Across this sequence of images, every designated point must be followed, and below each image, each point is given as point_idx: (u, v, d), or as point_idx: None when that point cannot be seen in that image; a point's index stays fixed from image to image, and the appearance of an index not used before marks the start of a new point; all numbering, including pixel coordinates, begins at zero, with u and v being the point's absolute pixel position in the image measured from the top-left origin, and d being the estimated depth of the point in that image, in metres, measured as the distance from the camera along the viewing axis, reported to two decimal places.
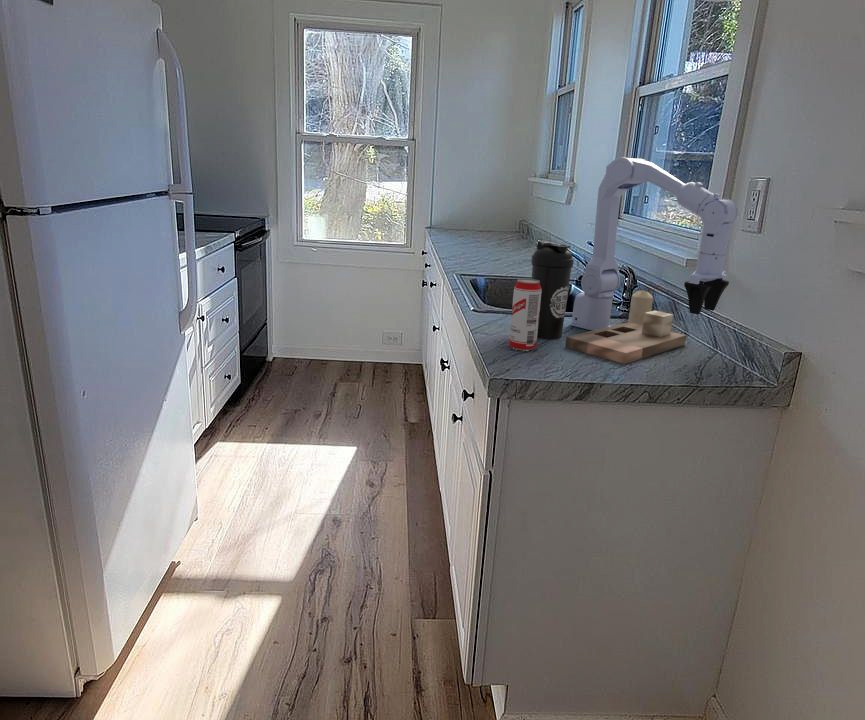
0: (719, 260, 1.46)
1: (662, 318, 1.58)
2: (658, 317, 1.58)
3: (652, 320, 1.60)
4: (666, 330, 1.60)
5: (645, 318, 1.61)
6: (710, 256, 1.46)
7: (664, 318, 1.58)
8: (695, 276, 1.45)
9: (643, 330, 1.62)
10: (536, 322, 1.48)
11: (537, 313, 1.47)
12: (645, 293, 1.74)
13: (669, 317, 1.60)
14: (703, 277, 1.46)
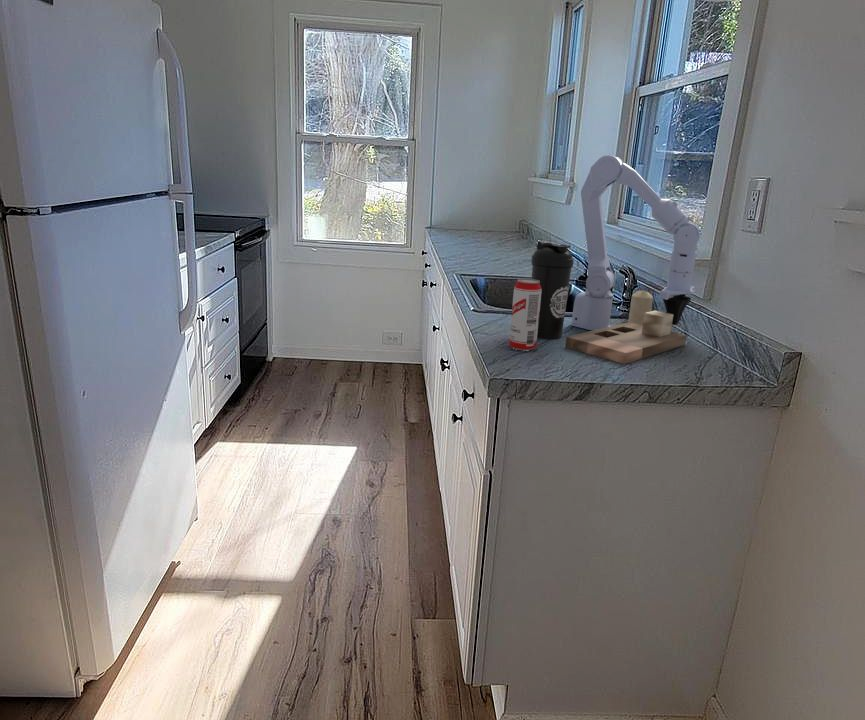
0: (686, 277, 1.61)
1: (662, 318, 1.58)
2: (658, 317, 1.58)
3: (652, 320, 1.60)
4: (666, 330, 1.60)
5: (645, 318, 1.61)
6: (679, 274, 1.61)
7: (664, 318, 1.58)
8: (665, 292, 1.59)
9: (643, 330, 1.62)
10: (536, 322, 1.48)
11: (537, 313, 1.47)
12: (645, 293, 1.74)
13: (669, 317, 1.60)
14: (672, 293, 1.60)
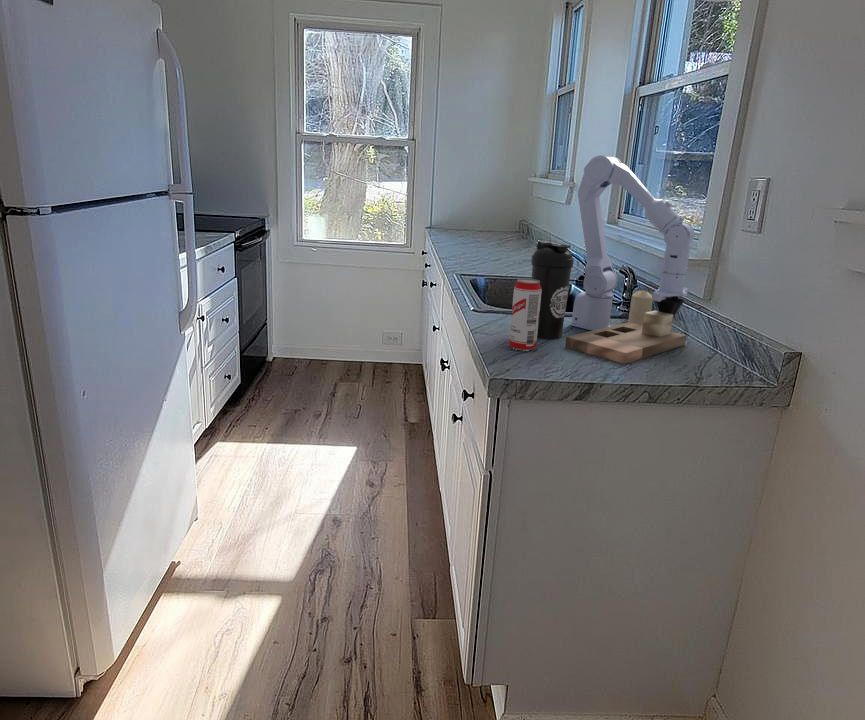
0: (679, 279, 1.58)
1: (662, 318, 1.58)
2: (658, 317, 1.58)
3: (652, 320, 1.60)
4: (666, 330, 1.60)
5: (645, 318, 1.61)
6: (671, 275, 1.58)
7: (664, 318, 1.58)
8: (657, 294, 1.57)
9: (643, 330, 1.62)
10: (536, 322, 1.48)
11: (537, 313, 1.47)
12: (645, 293, 1.74)
13: (669, 317, 1.60)
14: (665, 295, 1.58)
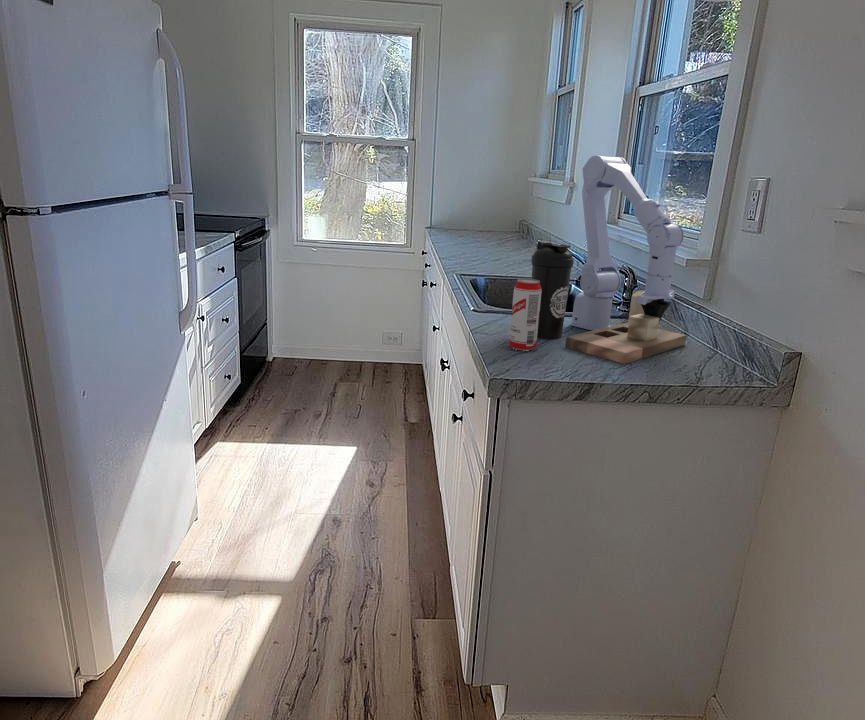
0: (665, 281, 1.54)
1: (648, 322, 1.53)
2: (643, 321, 1.54)
3: (637, 324, 1.55)
4: (652, 334, 1.56)
5: (630, 322, 1.56)
6: (657, 278, 1.54)
7: (650, 322, 1.53)
8: (642, 297, 1.52)
9: (628, 334, 1.57)
10: (536, 322, 1.48)
11: (537, 313, 1.47)
12: None
13: (655, 320, 1.55)
14: (650, 298, 1.53)
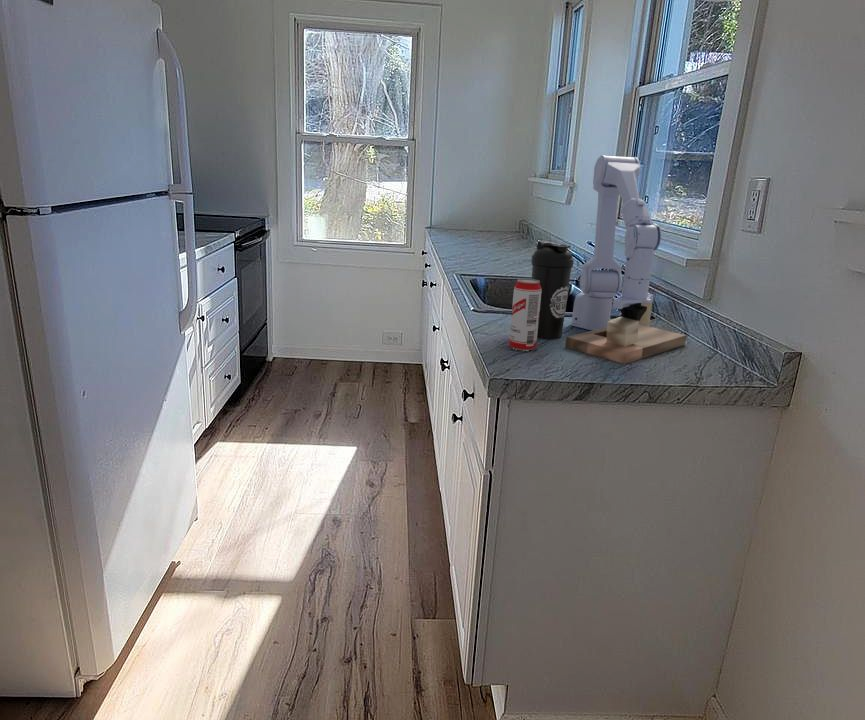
0: (642, 284, 1.46)
1: (625, 327, 1.46)
2: (621, 326, 1.47)
3: (616, 330, 1.48)
4: (632, 339, 1.49)
5: (608, 327, 1.50)
6: (634, 281, 1.46)
7: (628, 327, 1.47)
8: (618, 301, 1.45)
9: (607, 340, 1.51)
10: (536, 322, 1.48)
11: (537, 313, 1.47)
12: None
13: (634, 324, 1.48)
14: (626, 302, 1.46)
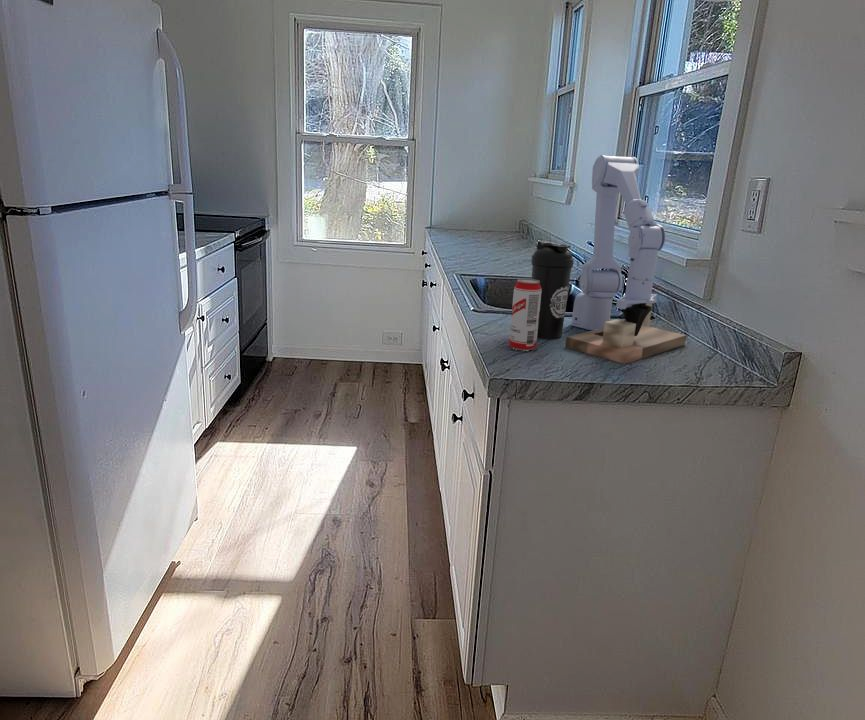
0: (646, 285, 1.48)
1: (623, 328, 1.46)
2: (619, 327, 1.46)
3: (613, 330, 1.48)
4: (628, 341, 1.48)
5: (605, 328, 1.49)
6: (637, 281, 1.48)
7: (625, 328, 1.46)
8: (622, 301, 1.47)
9: (604, 341, 1.50)
10: (536, 322, 1.48)
11: (537, 313, 1.47)
12: None
13: (631, 326, 1.48)
14: (630, 302, 1.47)
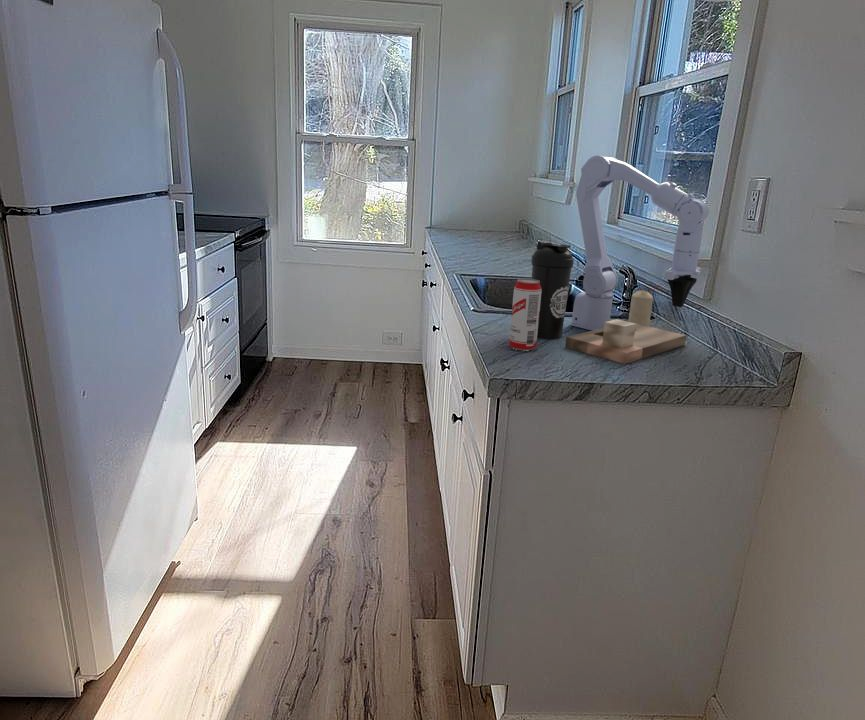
0: (692, 257, 1.55)
1: (623, 328, 1.46)
2: (619, 327, 1.46)
3: (613, 330, 1.48)
4: (628, 341, 1.48)
5: (605, 328, 1.49)
6: (684, 253, 1.55)
7: (625, 328, 1.46)
8: (670, 272, 1.53)
9: (604, 341, 1.50)
10: (536, 322, 1.48)
11: (537, 313, 1.47)
12: (645, 293, 1.74)
13: (631, 326, 1.48)
14: (677, 273, 1.54)
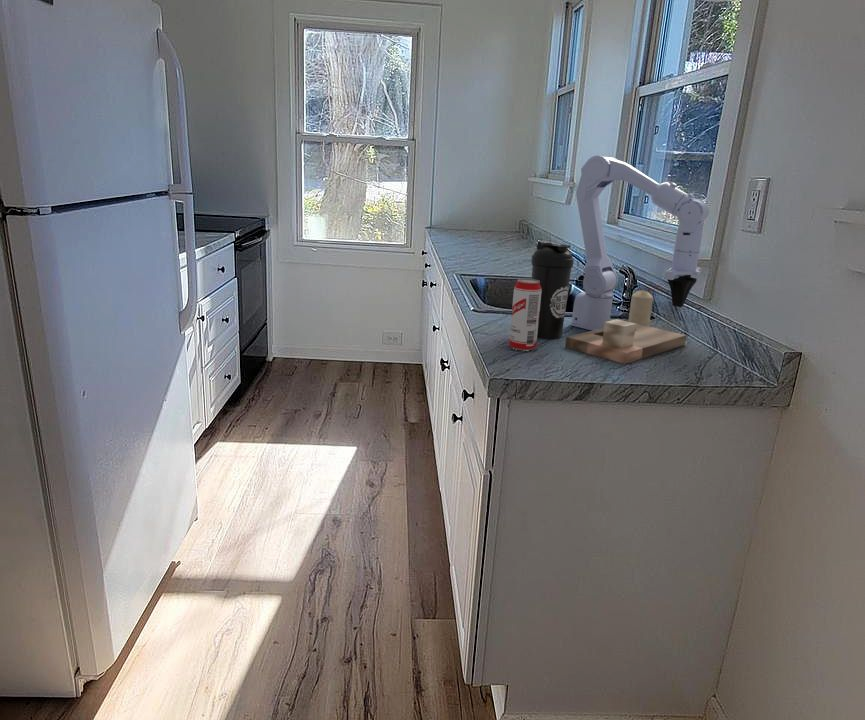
0: (692, 257, 1.55)
1: (623, 328, 1.46)
2: (619, 327, 1.46)
3: (613, 330, 1.48)
4: (628, 341, 1.48)
5: (605, 328, 1.49)
6: (684, 253, 1.55)
7: (625, 328, 1.46)
8: (670, 272, 1.53)
9: (604, 341, 1.50)
10: (536, 322, 1.48)
11: (537, 313, 1.47)
12: (645, 293, 1.74)
13: (631, 326, 1.48)
14: (677, 273, 1.54)
